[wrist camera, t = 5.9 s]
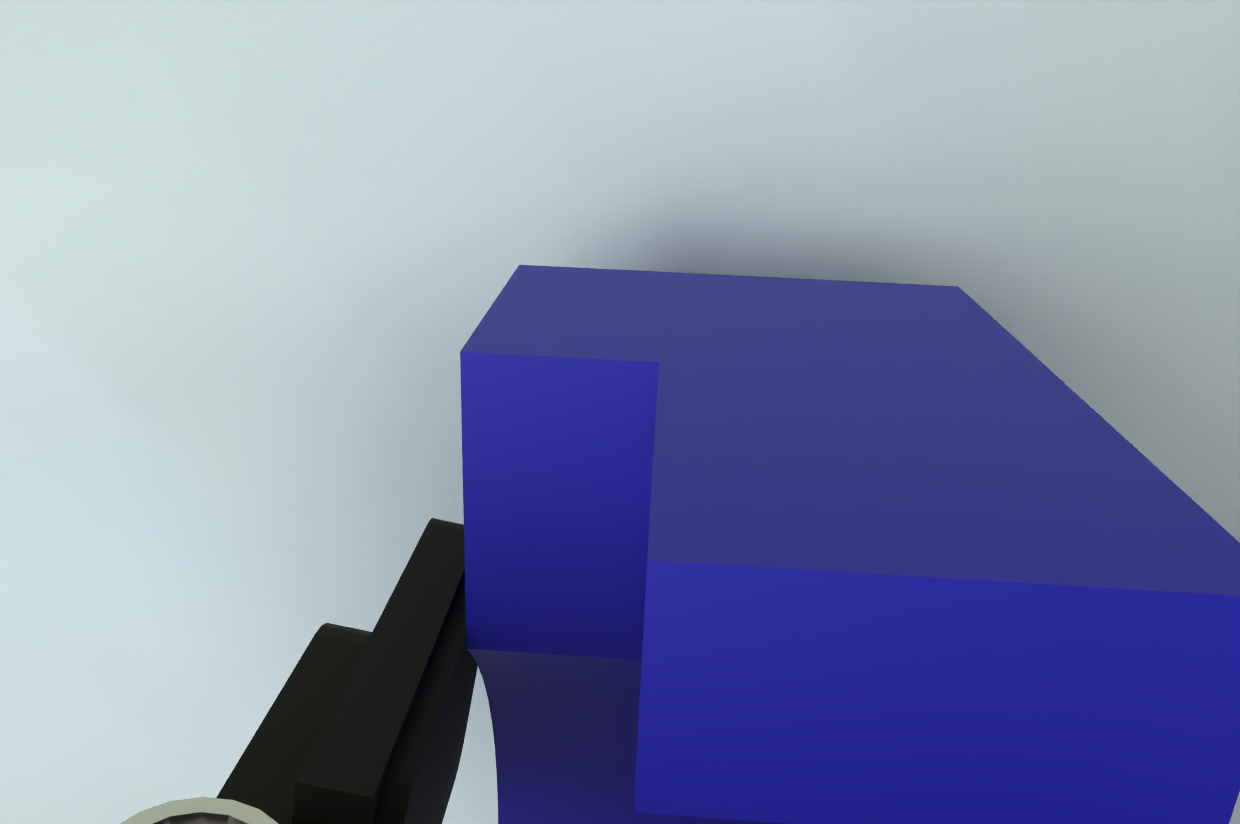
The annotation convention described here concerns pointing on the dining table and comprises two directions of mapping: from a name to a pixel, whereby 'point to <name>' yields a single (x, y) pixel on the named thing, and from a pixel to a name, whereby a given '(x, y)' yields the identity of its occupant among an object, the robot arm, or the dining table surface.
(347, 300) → the dining table surface
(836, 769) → the blue curved block
